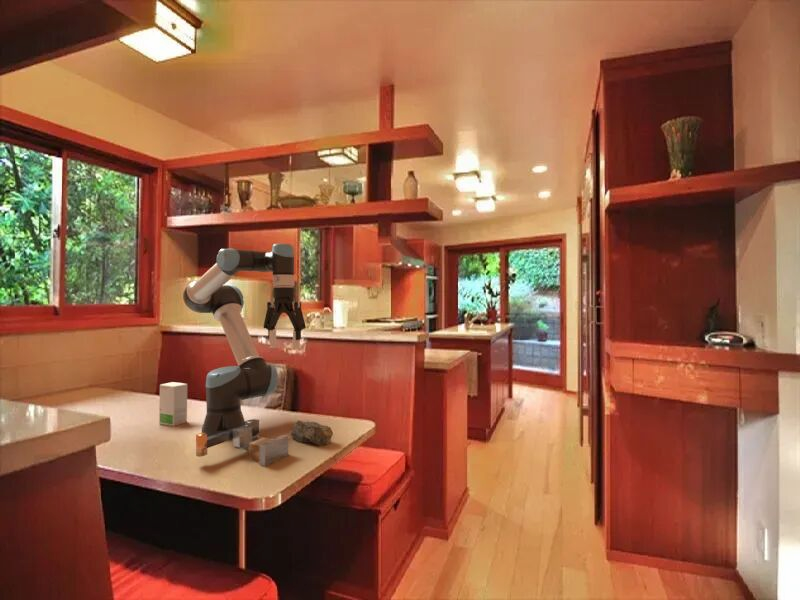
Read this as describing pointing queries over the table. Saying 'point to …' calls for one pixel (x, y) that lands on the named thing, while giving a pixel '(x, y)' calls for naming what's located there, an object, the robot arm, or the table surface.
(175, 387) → the skincare box
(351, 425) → the table surface
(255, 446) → the tan cardboard box
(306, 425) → the rock
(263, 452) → the grey piece
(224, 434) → the lever
